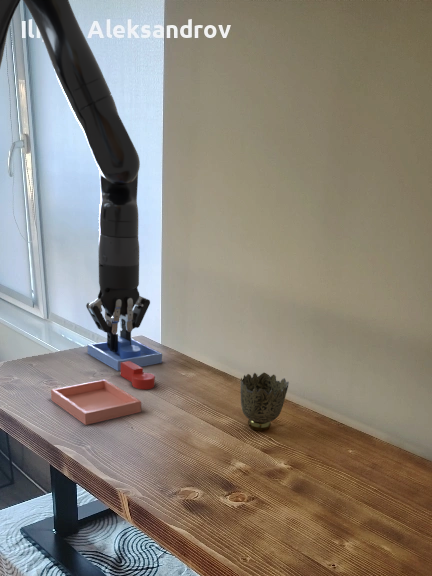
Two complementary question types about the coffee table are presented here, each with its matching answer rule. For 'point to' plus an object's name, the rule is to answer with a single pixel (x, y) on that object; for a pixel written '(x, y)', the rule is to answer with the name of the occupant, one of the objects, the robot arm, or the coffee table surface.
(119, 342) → the blue rounded block
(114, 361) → the blue tray
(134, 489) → the coffee table surface
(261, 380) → the cup
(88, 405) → the red tray
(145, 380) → the red stepped block
